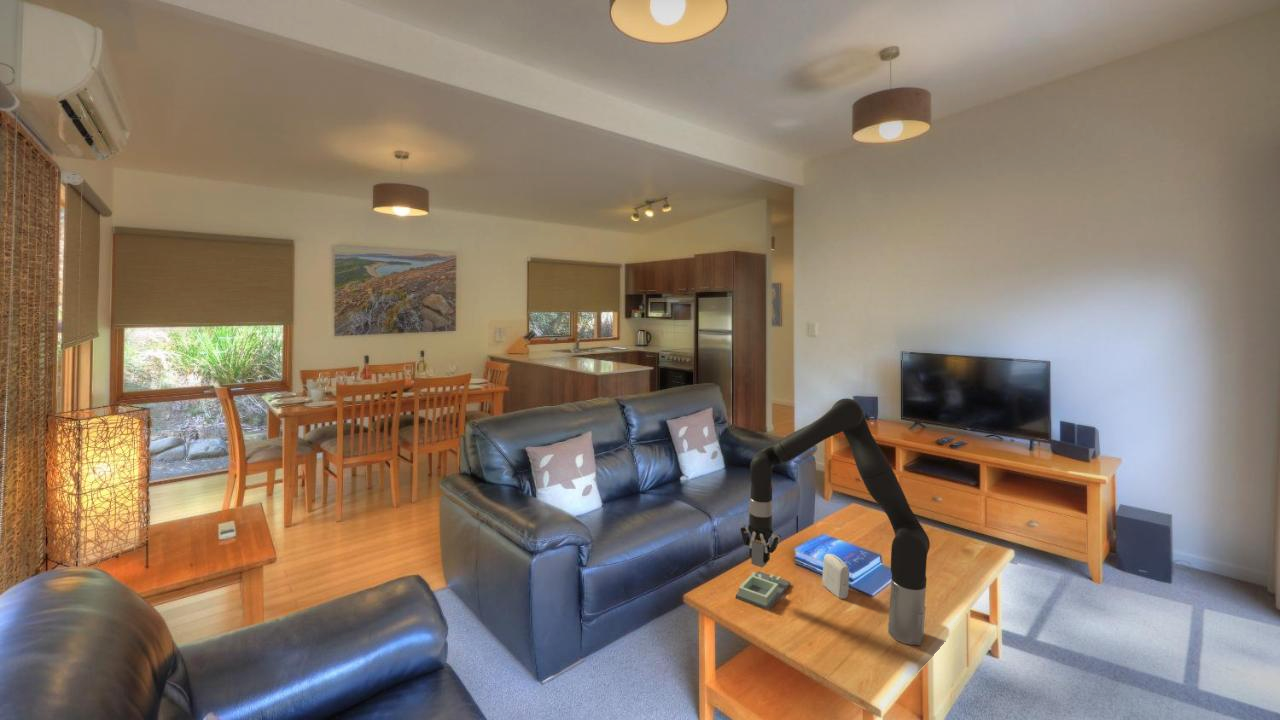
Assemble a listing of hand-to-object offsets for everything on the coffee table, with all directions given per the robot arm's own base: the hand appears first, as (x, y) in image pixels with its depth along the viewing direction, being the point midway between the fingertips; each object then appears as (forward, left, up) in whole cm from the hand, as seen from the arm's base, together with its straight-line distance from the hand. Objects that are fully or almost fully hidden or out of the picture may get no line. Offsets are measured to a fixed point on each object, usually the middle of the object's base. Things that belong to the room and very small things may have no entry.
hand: (759, 559), depth 173 cm
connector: (0, 0, -1) cm, 1 cm away
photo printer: (-20, -19, -14) cm, 31 cm away
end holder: (0, 0, -12) cm, 12 cm away
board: (0, -4, -14) cm, 14 cm away
